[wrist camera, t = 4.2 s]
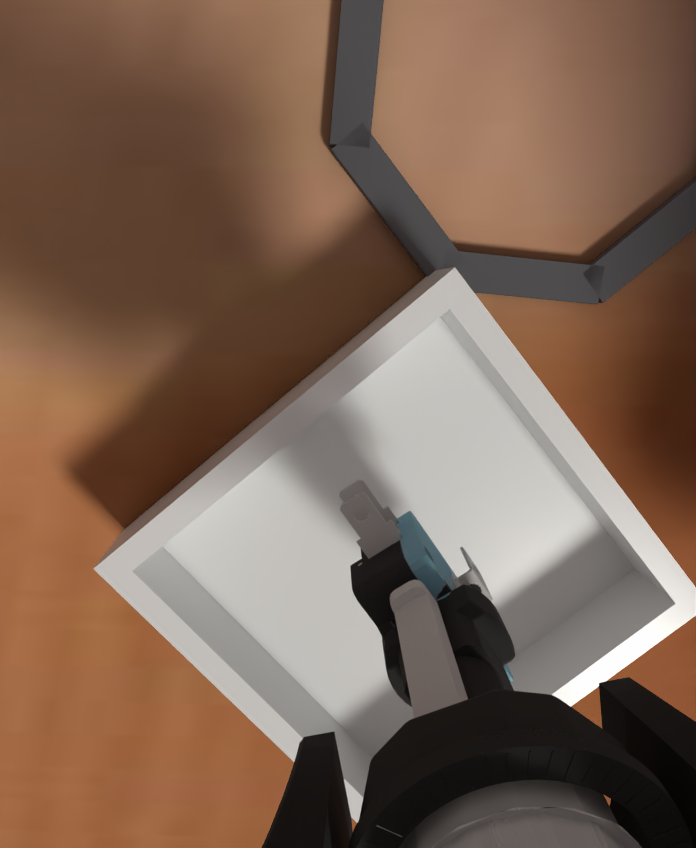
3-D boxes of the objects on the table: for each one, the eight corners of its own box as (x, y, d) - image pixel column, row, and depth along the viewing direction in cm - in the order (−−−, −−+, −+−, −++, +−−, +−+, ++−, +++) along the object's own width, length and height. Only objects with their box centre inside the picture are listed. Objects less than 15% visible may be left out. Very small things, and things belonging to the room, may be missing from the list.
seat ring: (829, 116, 19) (840, 112, 19) (504, 377, 20) (507, 379, 20) (604, -288, 17) (611, -302, 16) (245, 41, 18) (244, 35, 17)
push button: (273, 526, 17) (204, 872, 8) (432, 425, 17) (579, 660, 7) (398, 688, 19) (473, 1142, 9) (548, 602, 18) (797, 992, 9)
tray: (657, 563, 22) (709, 605, 19) (372, 776, 24) (380, 845, 21) (433, 270, 20) (454, 267, 17) (123, 529, 21) (93, 568, 18)
